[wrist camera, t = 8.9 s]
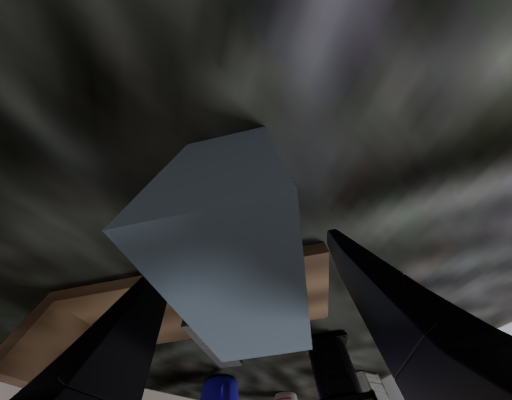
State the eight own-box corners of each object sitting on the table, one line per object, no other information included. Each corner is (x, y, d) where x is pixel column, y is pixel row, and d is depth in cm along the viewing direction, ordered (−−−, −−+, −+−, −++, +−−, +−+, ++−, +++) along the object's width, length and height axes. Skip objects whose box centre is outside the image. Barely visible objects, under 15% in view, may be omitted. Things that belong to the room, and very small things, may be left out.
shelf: (324, 307, 23) (347, 372, 18) (121, 339, 25) (88, 406, 20) (323, 241, 17) (360, 314, 11) (50, 292, 18) (-27, 373, 13)
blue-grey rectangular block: (284, 240, 16) (312, 349, 10) (231, 250, 17) (222, 362, 10) (265, 125, 11) (297, 190, 4) (187, 144, 11) (102, 230, 5)
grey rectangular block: (242, 327, 22) (242, 365, 19) (223, 330, 22) (220, 368, 19) (216, 280, 17) (210, 322, 14) (191, 284, 17) (180, 327, 14)
